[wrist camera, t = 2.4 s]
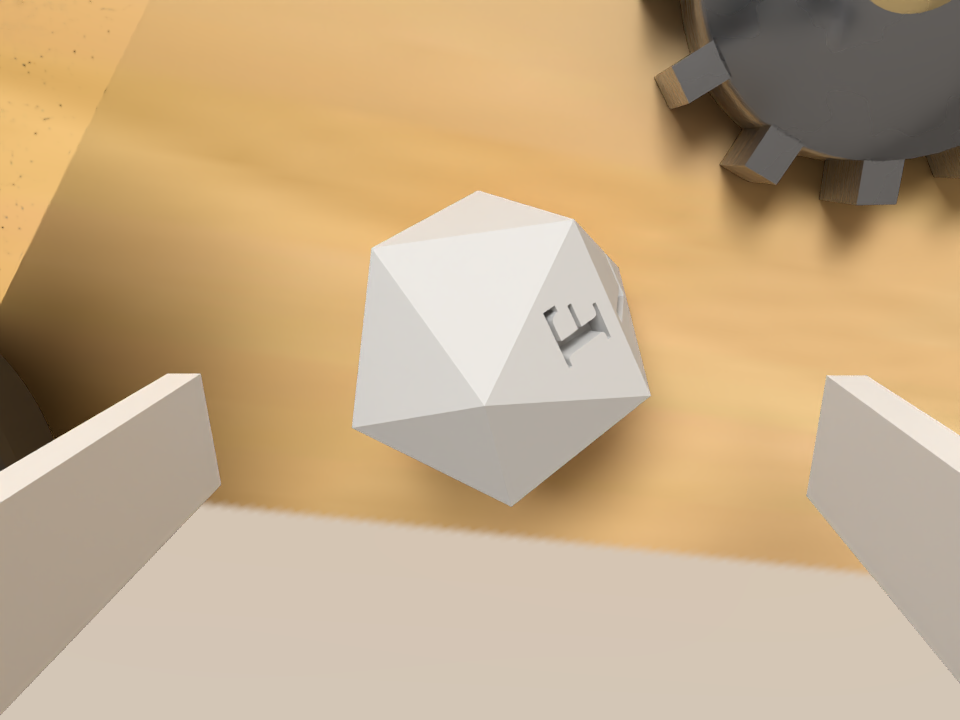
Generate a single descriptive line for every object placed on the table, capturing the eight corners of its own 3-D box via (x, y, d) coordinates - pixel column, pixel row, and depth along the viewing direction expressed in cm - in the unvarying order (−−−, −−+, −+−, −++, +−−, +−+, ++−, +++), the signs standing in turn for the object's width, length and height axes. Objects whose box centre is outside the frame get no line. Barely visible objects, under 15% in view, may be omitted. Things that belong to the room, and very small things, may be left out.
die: (649, 352, 23) (734, 484, 14) (448, 437, 25) (404, 605, 16) (560, 146, 21) (592, 138, 12) (347, 256, 23) (226, 325, 14)
